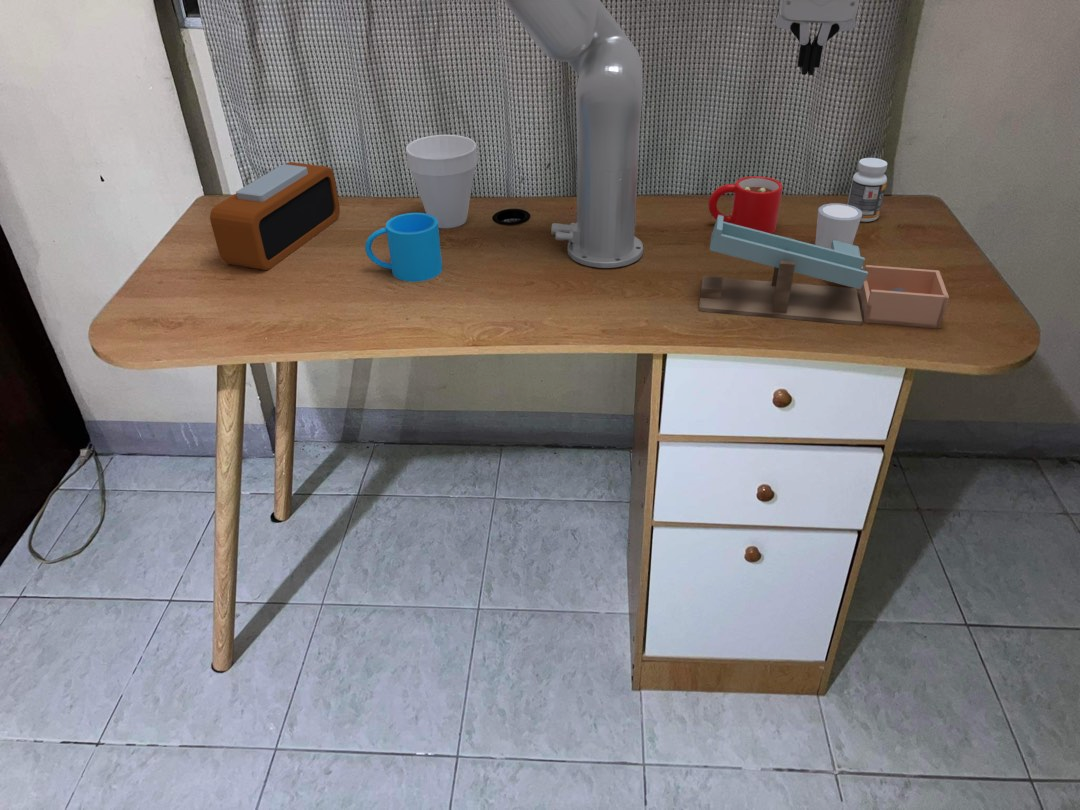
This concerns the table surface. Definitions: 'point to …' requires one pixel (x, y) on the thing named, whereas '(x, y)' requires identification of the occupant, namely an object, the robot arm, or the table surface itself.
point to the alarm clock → (275, 215)
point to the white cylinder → (837, 224)
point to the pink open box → (903, 297)
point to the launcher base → (780, 298)
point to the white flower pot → (444, 175)
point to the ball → (898, 290)
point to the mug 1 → (411, 247)
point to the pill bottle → (868, 188)
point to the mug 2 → (751, 203)
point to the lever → (791, 253)
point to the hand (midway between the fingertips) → (807, 72)
